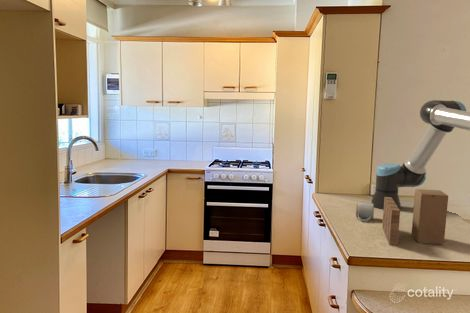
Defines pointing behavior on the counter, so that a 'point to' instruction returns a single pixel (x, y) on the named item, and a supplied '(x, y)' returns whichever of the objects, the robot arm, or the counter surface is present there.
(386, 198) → the walnut board
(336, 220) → the counter surface
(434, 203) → the wooden block
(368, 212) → the ceramic mug
